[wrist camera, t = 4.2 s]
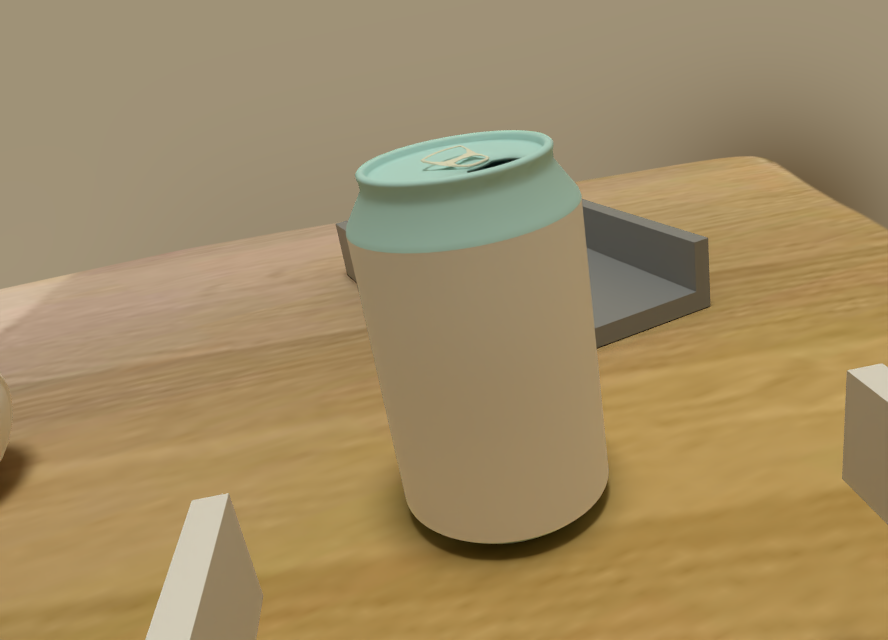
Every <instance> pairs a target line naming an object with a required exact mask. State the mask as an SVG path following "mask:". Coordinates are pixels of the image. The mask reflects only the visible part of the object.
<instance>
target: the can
mask: <svg viewBox="0 0 888 640" xmlns="http://www.w3.org/2000/svg"><path fill="white" fill-rule="evenodd" d="M355 177H356V180H357V182H358V184H359V188H360V192H359V195H358V197H357V200H356V202H355V205H354V207H353V210H352V213H351V215H350V218H349V220H348V223H347V226H346V238H347V242H348V247H349V251H350V255H351V260H352V264H353V268H354V273H355V277H356V282H357V286H358V290H359V295H360V299H361V304H362V308H363V312H364V317H365V321H366V326H367V330H368V334H369V339H370V343H371V348H372V352H373V356H374V361H375V365H376V370H377V374H378V378H379V383H380V387H381V392H382V396H383V400H384V405H385V409H386V414H387V418H388V422H389V427H390V431H391V436H392V440H393V444H394V449H395V453H396V458H397V462H398V466H399V471H400V475H401V480H402V484H403V488H404V493H405V497H406V501H407V504H408V507H409V508H410V510H411V512H412V513H413V515H414V516H415V517H416V518H417V519H418V520H419V521H420V522H421V523H422V524H424V525H425V526H427V527H428V528H430V529H432V530H433V531H435V532H437V533H440V534H442V535H445V536H447V537H450V538H454V539H458V540H462V541H467V542H473V543H482V544H509V543H517V542H523V541H527V540H531V539H534V538H538V537H541V536H543V535H546V534H549V533H551V532H554V531H556V530H558V529H560V528H562V527H564V526H566V525H568V524H569V523H571V522H573V521H574V520H576V519H577V518H579V517H580V516H582V515H583V514H584V513H586V512H587V511H588V510H589V509H590V508H591V507H592V506H593V505H594V504H595V503H596V502H597V500H598V499H599V498H600V496H601V495H602V493H603V491H604V489H605V487H606V484H607V481H608V475H609V469H608V458H607V448H606V438H605V428H604V418H603V408H602V398H601V388H600V378H599V368H598V358H597V348H596V338H595V328H594V318H593V308H592V297H591V287H590V277H589V267H588V257H587V247H586V237H585V227H584V217H583V207H582V197H581V193H580V190H579V188H578V186H577V185H576V184H575V182H574V181H573V180H572V179H571V178H570V177H569V176H568V174H567V173H566V172H565V171H564V170H563V168H562V167H561V166H560V165H559V164H558V162H557V161H556V160H555V159H554V158H553V140H552V139H551V138H550V137H548V136H547V135H545V134H543V133H539V132H533V131H522V130H505V131H504V130H503V131H488V132H478V133H469V134H462V135H456V136H450V137H444V138H440V139H434V140H430V141H425V142H421V143H417V144H413V145H409V146H406V147H402V148H399V149H396V150H393V151H390V152H388V153H384V154H382V155H379V156H377V157H375V158H373V159H371V160H369V161H367V162H366V163H364V164H363V165H362V166H360V168H359V169H358V170H357V172H356V174H355Z"/></svg>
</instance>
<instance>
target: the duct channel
mask: <svg viewBox="0 0 888 640" xmlns="http://www.w3.org/2000/svg"><path fill="white" fill-rule="evenodd" d="M582 207H583V217H584V227H585V237H586V247H587V257H588V267H589V277H590V287H591V297H592V308H593V318H594V328H595V338H596V348H598V347H601V346H603V345H606V344H609V343H611V342H614V341H617V340H620V339H622V338H625V337H628V336H630V335H633V334H636V333H638V332H641V331H644V330H647V329H649V328H652V327H655V326H657V325H660V324H663V323H665V322H668V321H671V320H674V319H676V318H679V317H682V316H684V315H687V314H690V313H692V312H695V311H698V310H701V309H703V308H706V307H709V306H710V283H709V253H708V238H707V237H703V236H700V235H697V234H694V233H690V232H687V231H684V230H681V229H677V228H674V227H671V226H668V225H664V224H661V223H658V222H655V221H652V220H648V219H645V218H642V217H639V216H635V215H632V214H629V213H626V212H622V211H619V210H616V209H613V208H610V207H606V206H603V205H600V204H597V203H593V202H590V201H587V200H584V199H582ZM347 223H348V221H344V222H341V223H337V224H336V228H337V232H338V236H339V241H340V245H341V249H342V254H343V258H344V262H345V267H346V271H347V275H348V276H350V277H351V278H352V279H353V280H354V281H355V282H356V277H355V273H354V268H353V264H352V260H351V255H350V251H349V247H348V242H347V238H346V226H347Z"/></svg>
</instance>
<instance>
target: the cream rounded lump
mask: <svg viewBox="0 0 888 640" xmlns="http://www.w3.org/2000/svg"><path fill="white" fill-rule="evenodd" d="M12 420H13V406H12V398H11V394H10V390H9V388H8V385H7V383H6V382H5V380H4V378H3V376H2V375H1V373H0V461H1V459H2V457H3V455H4V453H5V451H6V448H7V445H8V442H9V438H10V434H11V428H12Z"/></svg>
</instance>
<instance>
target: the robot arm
mask: <svg viewBox="0 0 888 640" xmlns="http://www.w3.org/2000/svg"><path fill="white" fill-rule="evenodd" d="M842 479H843V480H844V481H845V482H846V483H847V484H848V485H849V486H850V487H851V488H852V489H853V490H854V491H855V492H856V493H857V494H858V495H859V496H860V497H861V498H862V499H863V500H864V501H865V502H866V503H867V504H868V505H869V506H870V507H871V508H872V509H873V510H874V511H875V512H876V513H877V514H878V515H879V516H880V517H881V518H882V519H883V520H884V521H885V522H886V523H887V524H888V367H887V366H885V365H884V364H877V365H872V366H867V367H862V368H857V369H852V370H847V381H846V404H845V426H844V449H843V472H842ZM262 600H263V593H262V590H261V587H260V585H259V582H258V579H257V576H256V573H255V570H254V567H253V564H252V561H251V558H250V555H249V552H248V549H247V546H246V543H245V540H244V537H243V534H242V531H241V528H240V525H239V522H238V519H237V516H236V513H235V510H234V507H233V504H232V501H231V498H230V495H229V493H227V494H222V495H217V496H212V497H207V498H202V499H197V500H192V502H191V505H190V508H189V511H188V514H187V517H186V520H185V523H184V526H183V529H182V532H181V535H180V538H179V541H178V544H177V547H176V550H175V553H174V556H173V559H172V562H171V565H170V568H169V571H168V574H167V577H166V580H165V583H164V586H163V588H162V591H161V594H160V597H159V600H158V603H157V606H156V609H155V612H154V615H153V618H152V621H151V624H150V627H149V630H148V633H147V636H146V639H145V640H256V637H257V631H258V625H259V619H260V613H261V606H262Z"/></svg>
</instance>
